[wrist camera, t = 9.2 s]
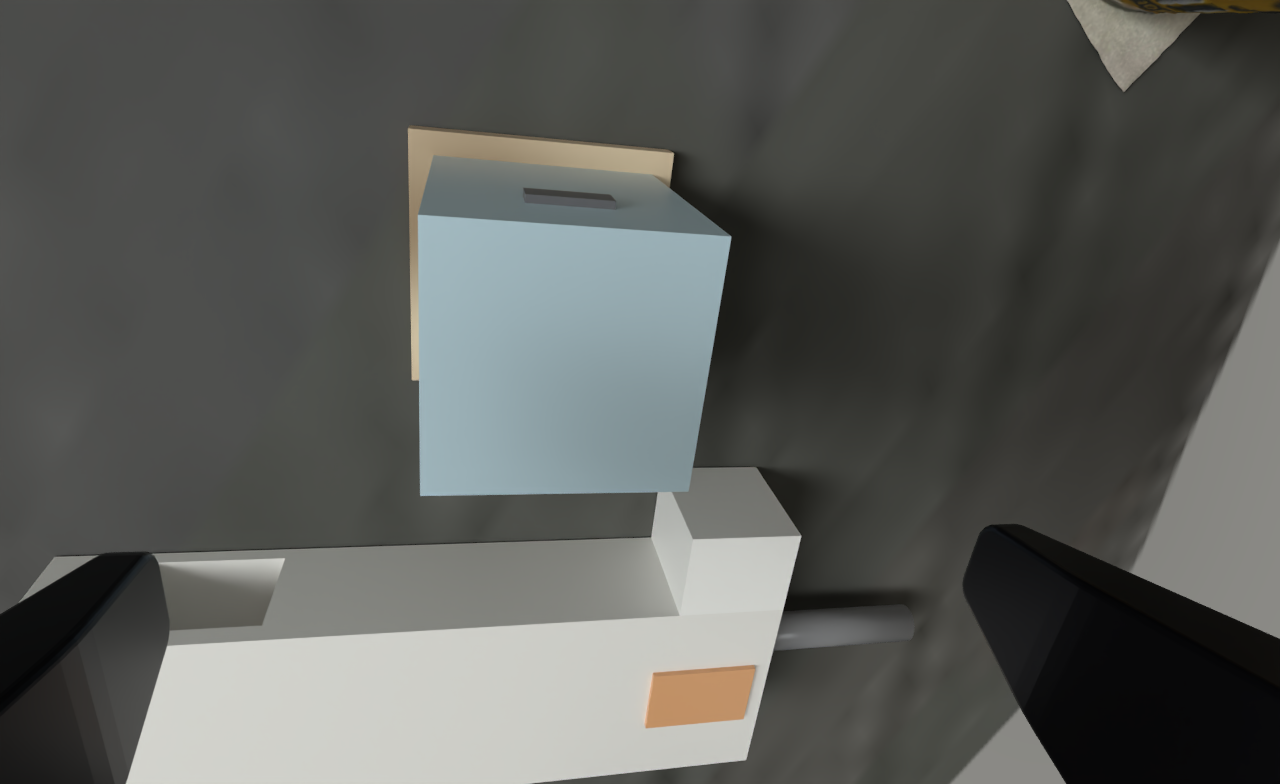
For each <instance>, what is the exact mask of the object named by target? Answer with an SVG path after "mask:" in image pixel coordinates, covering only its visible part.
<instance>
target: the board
mask: <svg viewBox="0 0 1280 784" xmlns="http://www.w3.org/2000/svg"><path fill="white" fill-rule="evenodd" d="M433 155H437V156H448V157H460V158H471V159H482V160H494V161H505V162H516V163H528V164H539V165H550V166H562V167H573V168H584V169H596V170H607V171H618V172H629V173H641V174H652V175H653V176H655V177H656V178H657V179H659V180H660V181H661V182H662V183H664V184H665V185H666V186H667V187H669V188H670V182H671V174H672V166H673V158H674V153H673V152H671V151H670V150H667V149H656V148H646V147H635V146H625V145H614V144H603V143H593V142H582V141H572V140H561V139H550V138H540V137H529V136H519V135H508V134H497V133H487V132H476V131H466V130H455V129H444V128H434V127H423V126H413V125H410V126H409V128H408V157H409V221H410V286H411V350H412V380H419V297H418V212H419V208H420V204H421V201H422V197H423V193H424V189H425V185H426V182H427V178H428V174H429V170H430V166H431V163H432V159H433Z"/></svg>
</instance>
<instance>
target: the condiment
mask: <svg viewBox="0 0 1280 784" xmlns="http://www.w3.org/2000/svg"><path fill="white" fill-rule="evenodd" d="M1067 1H1068V2H1069V4H1070V6H1071V8H1072V10H1073V11H1074V14H1075V16H1076V17H1077V19H1078V20H1079V22H1080V23H1081V25H1082V27H1083V29H1084V31H1085V33H1086V35H1087V36H1088V38H1089V40H1090V41H1091V43H1092V45H1093V46H1094V47H1095V48H1096V50H1097V51H1098V53H1099V55H1100V58H1101V60H1102V62H1103V63H1104V65H1105V66H1106V69H1107V70H1108V72H1109V73H1110V74H1111V76H1112V77H1113V79H1114V81H1115V82H1116V83H1117V85H1118V86H1119V87H1120V88H1121V89H1122V90H1123V92H1125V91H1126V90H1127V89H1128V87H1129V86H1130V85H1131V84H1132V83H1133V82H1134V81H1135V80H1136V79H1137V78H1138V77H1139V76H1141V74H1142V73H1143V72H1144V71H1145V70H1146V69H1147V68H1148V67H1149V66H1150V65H1151V64H1152V63H1153V62H1154V61H1155V60H1156V59H1157V58H1158V57H1159V56H1160V55H1161V53H1162V52H1163V51H1164V50H1165V49H1166V48H1167V47H1169V46H1170V45H1171V44H1172V43H1173V42H1174V41H1175V40H1176V39H1177V37H1178V36H1179V34H1180V33H1181V32H1182V31H1183V30H1185V29H1186V28H1187V27H1188V26H1189V25H1190V24H1191V22H1192V21H1193V20H1194V19H1195V18H1196V17H1197V16H1198V15H1199V14H1200V13H1253V12H1262V13H1280V0H1067Z"/></svg>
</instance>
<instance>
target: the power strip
mask: <svg viewBox="0 0 1280 784" xmlns="http://www.w3.org/2000/svg"><path fill="white" fill-rule="evenodd" d="M800 540H801V534H800V533H799V531H798V530H797V528H796V527H795V525H794V524H793V522H792V521H791V519H790V518H789V516H788V515H787V513H786V512H785V510H784V509H783V507H782V506H781V504H780V503H779V501H778V500H777V498H776V496H775V495H774V493H773V492H772V490H771V489H770V487H769V486H768V484H767V483H766V481H765V480H764V478H763V477H762V475H761V474H760V472H759V471H758V469H757V468H756V467H718V468H692V474H691V480H690V486H689V492H658V495H657V502H656V508H655V515H654V522H653V529H652V536H651V537H648V538H617V539H587V540H556V541H525V542H495V543H464V544H433V545H402V546H372V547H341V548H310V549H280V550H249V551H218V552H188V553H157V554H152V555H154V556H155V558H156V559H157V561H158V564H159V567H160V572H161V578H162V583H163V588H164V593H165V598H166V603H167V609H168V614H169V620H170V632H169V640H168V645H167V648H166V652H165V655H164V658H163V662H162V665H161V669H160V672H159V675H158V679H157V682H156V685H155V689H154V692H153V695H152V699H151V702H150V705H149V709H148V712H147V716H146V719H145V722H144V726H143V729H142V732H141V736H140V739H139V742H138V746H137V749H136V752H135V756H134V759H133V763H132V766H131V769H130V773H129V776H128V779H127V782H126V784H530V783H539V782H548V781H557V780H567V779H576V778H585V777H594V776H603V775H613V774H622V773H631V772H640V771H650V770H659V769H668V768H677V767H686V766H696V765H705V764H714V763H723V762H732V761H742V760H746V758H747V754H748V750H749V746H750V742H751V738H752V734H753V730H754V726H755V722H756V718H757V714H758V710H759V706H760V702H761V697H762V693H763V689H764V685H765V681H766V677H767V673H768V669H769V665H770V661H771V657H772V653H773V651H776V650H789V649H803V648H817V647H831V646H845V645H858V644H872V643H886V642H900V641H909V640H910V639H911V638H912V637H913V634H914V620H913V617H912V614H911V612H910V610H909V609H908V608H907V607H906V606H905V605H903V604H896V605H880V606H863V607H846V608H829V609H812V610H795V611H783V609H784V605H785V601H786V596H787V592H788V588H789V584H790V580H791V576H792V572H793V568H794V564H795V560H796V556H797V552H798V548H799V544H800ZM97 556H99V555H96V556H65V557H54V558H53V560H52V561H51V562H50V563H49V565H48V566H47V567H46V569H45V570H44V571H43V572H42V574H41V575H40V576H39V578H38V579H37V580H36V581H35V583H34V584H33V585H32V587H31V588H30V589H29V590H28V592H27V593H26V594H25V596H24V597H23V598H22V599H21V601H23V600H25V599H26V598H28V597H30V596H31V595H33V594H35V593H36V592H38V591H40V590H41V589H43V588H45V587H46V586H48V585H50V584H51V583H53V582H55V581H56V580H58V579H60V578H61V577H63V576H65V575H66V574H68V573H70V572H71V571H73V570H75V569H76V568H78V567H80V566H81V565H83V564H85V563H86V562H88V561H90V560H91V559H93V558H95V557H97ZM21 601H20V602H21ZM20 602H19V603H20Z"/></svg>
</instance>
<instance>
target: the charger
mask: <svg viewBox="0 0 1280 784" xmlns="http://www.w3.org/2000/svg"><path fill="white" fill-rule="evenodd" d="M730 243H731V236H730V235H729V234H728V233H726V232H725V231H724V230H722V229H721V228H720V227H719V226H717V225H716V224H715V223H714V222H712V221H711V220H710V219H708V218H707V217H706V216H705V215H703V214H702V213H701V212H699V211H698V210H697V209H696V208H694V207H693V206H692V205H690V204H689V203H688V202H687V201H685V200H684V199H683V198H682V197H680V196H679V195H678V194H676V193H675V192H674V191H673V190H671V189H670V188H669V187H667V186H666V185H665V184H664V183H662V182H661V181H660V180H659V179H657V178H656V177H655V176H653V175H652V174H641V173H629V172H618V171H607V170H596V169H584V168H573V167H562V166H550V165H539V164H528V163H516V162H505V161H494V160H482V159H471V158H460V157H448V156H437V155H433V159H432V163H431V166H430V170H429V174H428V178H427V182H426V185H425V189H424V193H423V197H422V201H421V204H420V208H419V212H418V297H419V417H420V496H444V495H507V494H571V493H634V492H689V486H690V480H691V474H692V468H693V462H694V457H695V451H696V445H697V439H698V433H699V427H700V421H701V415H702V409H703V403H704V397H705V391H706V385H707V379H708V373H709V368H710V362H711V356H712V350H713V344H714V338H715V332H716V326H717V320H718V314H719V308H720V302H721V296H722V290H723V284H724V279H725V273H726V267H727V261H728V255H729V249H730Z"/></svg>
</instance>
